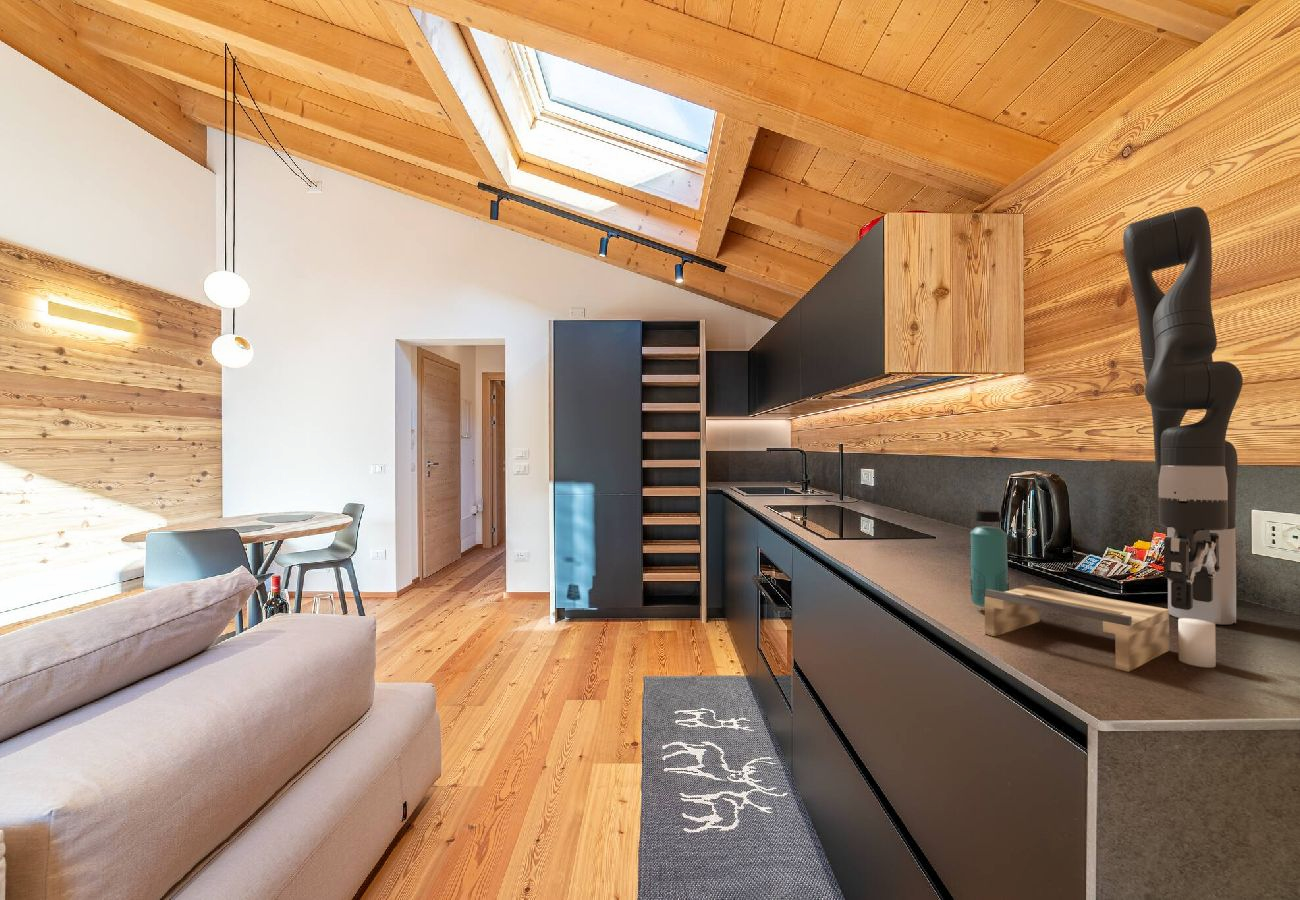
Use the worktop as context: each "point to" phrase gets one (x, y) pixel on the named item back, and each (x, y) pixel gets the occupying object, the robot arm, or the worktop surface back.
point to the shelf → (1132, 623)
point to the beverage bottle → (988, 558)
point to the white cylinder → (1196, 642)
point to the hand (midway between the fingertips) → (1192, 604)
